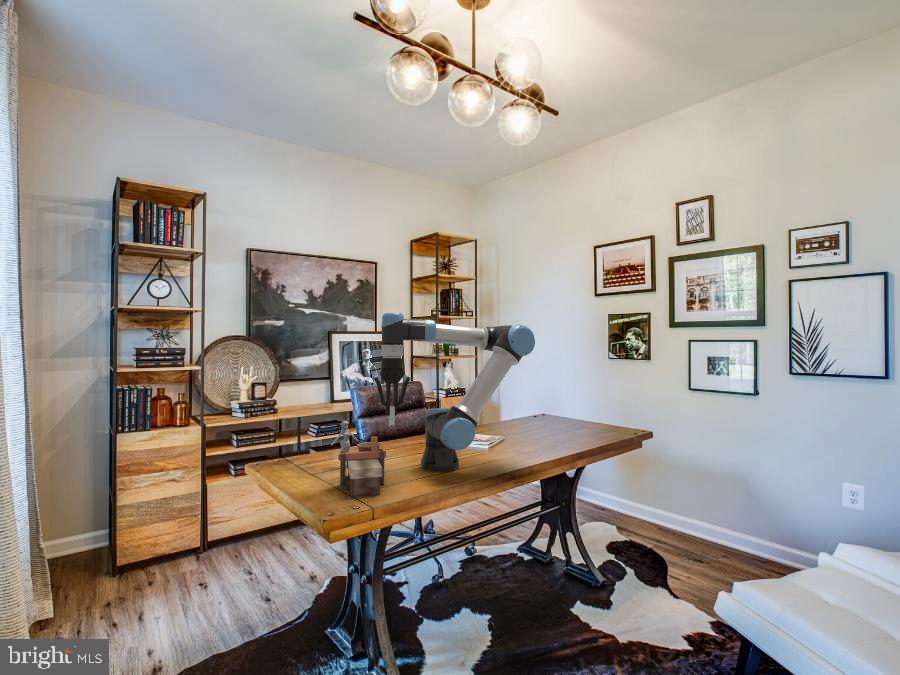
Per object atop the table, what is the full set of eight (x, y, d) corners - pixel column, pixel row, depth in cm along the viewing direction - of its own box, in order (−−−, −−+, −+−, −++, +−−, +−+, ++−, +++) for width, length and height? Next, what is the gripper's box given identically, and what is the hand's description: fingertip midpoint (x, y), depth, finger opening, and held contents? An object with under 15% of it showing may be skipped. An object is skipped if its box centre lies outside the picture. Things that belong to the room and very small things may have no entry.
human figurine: (333, 471, 177) (334, 423, 177) (328, 469, 179) (329, 422, 179) (360, 465, 185) (361, 420, 185) (355, 463, 188) (356, 418, 188)
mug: (352, 471, 176) (352, 444, 176) (370, 467, 182) (370, 441, 182) (372, 478, 168) (372, 449, 168) (390, 473, 174) (391, 445, 174)
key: (385, 456, 163) (385, 435, 163) (386, 457, 161) (386, 437, 161) (338, 459, 158) (338, 438, 159) (338, 460, 157) (338, 439, 157)
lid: (375, 464, 164) (375, 456, 164) (382, 476, 150) (382, 467, 150) (346, 466, 161) (346, 457, 161) (350, 479, 147) (350, 469, 147)
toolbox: (382, 481, 164) (382, 448, 164) (388, 494, 151) (389, 458, 151) (339, 484, 160) (340, 451, 160) (342, 498, 147) (343, 461, 147)
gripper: (374, 357, 157) (374, 427, 157) (412, 357, 161) (412, 426, 161) (371, 356, 165) (371, 423, 164) (408, 356, 168) (407, 422, 168)
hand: (391, 424), depth 163 cm, fingers closed
